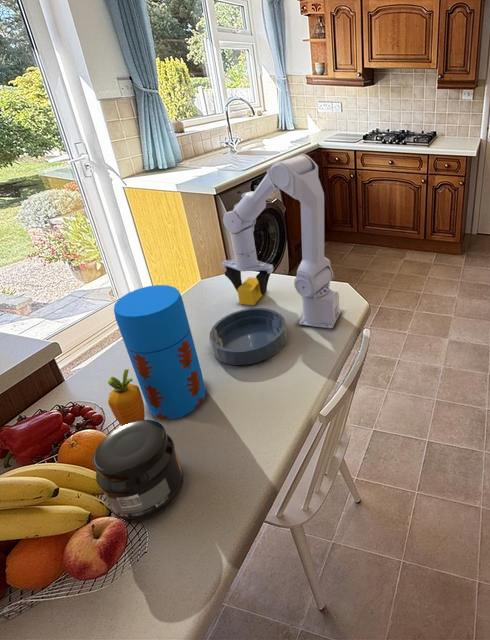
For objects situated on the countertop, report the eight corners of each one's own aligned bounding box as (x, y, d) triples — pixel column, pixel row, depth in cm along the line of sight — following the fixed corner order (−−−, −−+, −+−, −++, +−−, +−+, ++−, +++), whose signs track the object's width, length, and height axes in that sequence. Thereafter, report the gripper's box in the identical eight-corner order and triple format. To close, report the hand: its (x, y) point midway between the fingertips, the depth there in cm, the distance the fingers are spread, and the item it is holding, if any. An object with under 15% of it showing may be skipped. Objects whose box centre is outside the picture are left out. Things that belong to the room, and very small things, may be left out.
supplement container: (169, 452, 74) (153, 405, 69) (196, 490, 68) (180, 442, 62) (103, 494, 67) (78, 445, 61) (126, 541, 61) (101, 491, 55)
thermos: (183, 424, 80) (151, 321, 68) (136, 415, 81) (97, 312, 70) (216, 385, 89) (193, 288, 78) (173, 377, 91) (144, 281, 79)
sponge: (264, 292, 123) (262, 278, 120) (254, 305, 116) (251, 290, 114) (251, 291, 123) (248, 277, 121) (239, 303, 117) (237, 289, 115)
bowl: (297, 325, 109) (295, 311, 107) (268, 371, 93) (266, 356, 91) (236, 318, 111) (233, 304, 109) (197, 361, 95) (193, 346, 93)
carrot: (147, 418, 81) (126, 360, 74) (158, 432, 78) (137, 373, 71) (119, 435, 77) (94, 375, 70) (130, 449, 74) (104, 389, 68)
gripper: (275, 246, 115) (280, 286, 122) (228, 241, 117) (235, 282, 123) (264, 257, 109) (270, 299, 115) (214, 252, 111) (223, 294, 117)
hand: (251, 291), depth 119 cm, fingers open, 7 cm apart
